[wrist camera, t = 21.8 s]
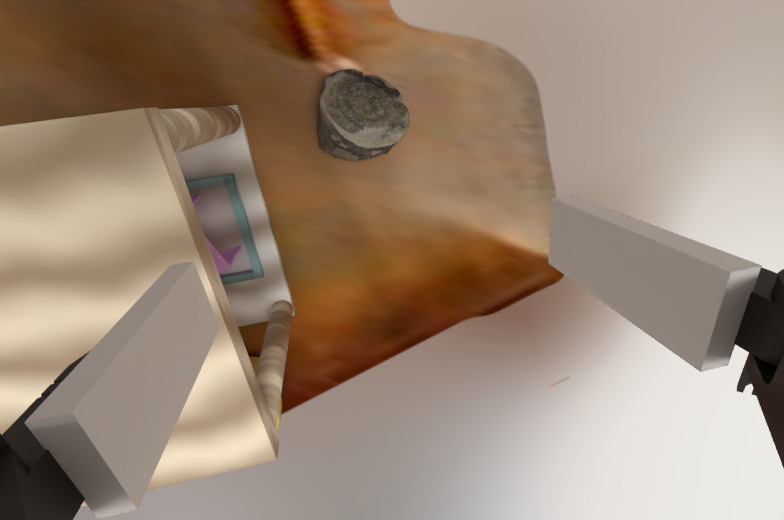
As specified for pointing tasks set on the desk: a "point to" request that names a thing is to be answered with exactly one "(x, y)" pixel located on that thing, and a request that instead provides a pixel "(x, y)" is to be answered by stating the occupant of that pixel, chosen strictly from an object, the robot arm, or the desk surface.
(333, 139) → the fossil
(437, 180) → the desk surface
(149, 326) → the robot arm
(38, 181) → the canopy shelf
